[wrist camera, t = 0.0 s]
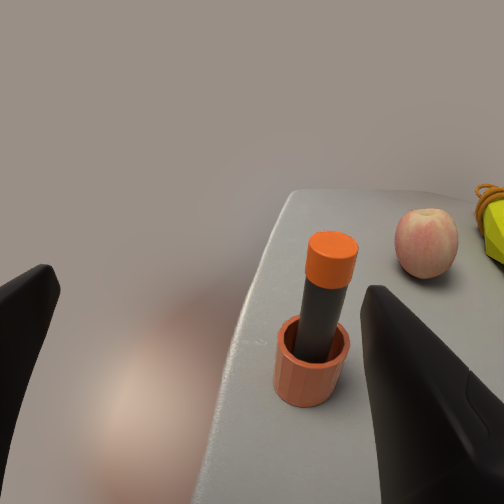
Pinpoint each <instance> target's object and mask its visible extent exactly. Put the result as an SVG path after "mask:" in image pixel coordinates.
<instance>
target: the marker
mask: <svg viewBox="0 0 504 504" xmlns="http://www.w3.org/2000/svg"><path fill="white" fill-rule="evenodd" d="M357 254H358V245H357V243H356V241H355V240H354V239H353V238H351V237H350V236H348V235H346V234H343V233H340V232H336V231H321V232H317V233H315V234H313V235H312V236H311V237H310V239H309V244H308V251H307V259H306V266H305V274H306V279H305V286H304V293H303V299H302V306H301V312H300V318H299V324H298V330H297V336H296V342H295V348H294V353H293V356H294V357H296V358H297V359H298V360H301V361H304V362H307V363H310V364H323V363H326V361H327V358H328V355H329V352H330V348H331V345H332V342H333V338H334V335H335V331H336V328H337V324H338V321H339V317H340V314H341V310H342V306H343V303H344V299H345V295H346V291H347V287H348V284H349V282H350V281H351V279H352V275H353V271H354V266H355V262H356V258H357Z"/></svg>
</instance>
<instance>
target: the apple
mask: <svg viewBox="0 0 504 504" xmlns="http://www.w3.org/2000/svg"><path fill="white" fill-rule="evenodd" d="M395 250H396V254H397V257H398V260H399V262H400V263H401V265H402V266H403V268H404V269H405V270H406V271H407V272H408V273H410V274H411V275H413V276H415V277H417V278H421V279H427V278H432V277H435V276H438V275H440V274H442V273H444V272H445V271H447V270H448V269H449V268H450V266H451V265H452V263H453V261H454V259H455V257H456V254H457V250H458V232H457V228H456V225H455V223H454V221H453V219H452V218H451V217H450V216H449V215H448V214H447V213H446V212H444V211H443V210H440V209H416V210H412V211H410V212H408V213H406V214H405V215H404V216H403V217H402V218H401V220H400V221H399V223H398V225H397V229H396V233H395Z"/></svg>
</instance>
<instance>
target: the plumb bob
mask: <svg viewBox="0 0 504 504" xmlns="http://www.w3.org/2000/svg"><path fill="white" fill-rule="evenodd" d="M484 187H489V188H488V189H487V190H486V191H485V192H484V194H483V195H481V194H479V192H478V190H479V189H481V188H484ZM475 192H476V195H477V196H478V197H479V198H480V200H479V201H478V203H477V206H476V220H477V223H478V227H479V230H480V232H481V233H482V234H483V235H484V237H485V245H486V255H488V256H490V257H492V258H493V259H495V260H497V261H499V262H500V263H502V264H504V188H503V187H498V186H495V185H491V184H482V185H479V186H478V187H477V188H476V190H475Z"/></svg>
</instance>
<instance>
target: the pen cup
mask: <svg viewBox="0 0 504 504" xmlns="http://www.w3.org/2000/svg"><path fill="white" fill-rule="evenodd" d="M299 318H300V315H297V316H294V317H292V318H290V319H289V320H288V321H286V322H285V323H284V324H283V325H282V327H281V328H280V330H279V332H278V337H277V347H276V356H275V364H274V376H273V385H274V388H275V391H276V392H277V394H278V395H279V396H280V397H281V398H282V399H283V400H284V401H286V402H287V403H289V404H291V405H294V406H298V407H312V406H316V405H319V404H321V403H323V402H324V401H325V400H327V399H328V398H329V397H330V395H331V394H332V392H333V390H334V387H335V385H336V382H337V380H338V377H339V375H340V372H341V370H342V367H343V365H344V362H345V359H346V357H347V354H348V351H349V348H350V340H349V335H348V333H347V332H346V330H345V329H344V327H343V326H342V325H341V324H340V323H338V324H337V328H336V331H335V335H334V338H333V342H332V345H331V348H330V352H329V355H328V358H327V361H326V363H323V364H310V363H307V362H304V361H301V360H298V359H297V358H296V357H294V356H293V353H294V348H295V342H296V336H297V330H298V324H299Z"/></svg>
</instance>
